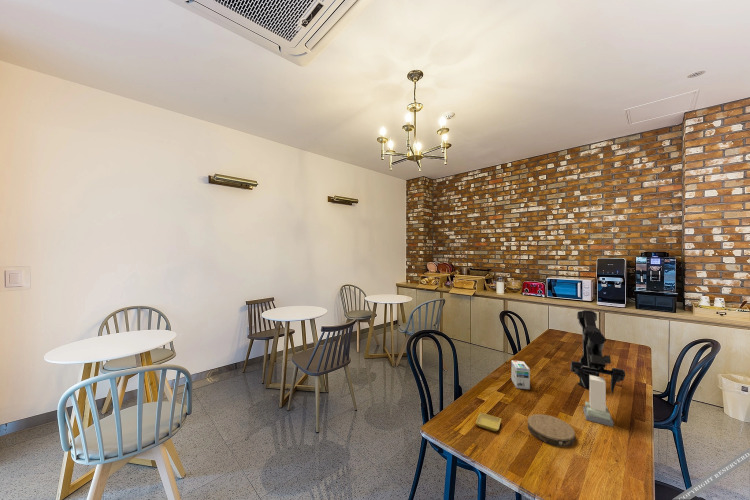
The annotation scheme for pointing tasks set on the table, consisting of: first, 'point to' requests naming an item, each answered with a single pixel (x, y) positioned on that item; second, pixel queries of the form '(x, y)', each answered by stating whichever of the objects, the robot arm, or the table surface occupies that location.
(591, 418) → the tower base slab
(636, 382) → the table surface
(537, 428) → the wood slice
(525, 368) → the light bulb box
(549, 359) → the table surface
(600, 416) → the tower top slab
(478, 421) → the yellow flat square tray
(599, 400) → the cream pillar
